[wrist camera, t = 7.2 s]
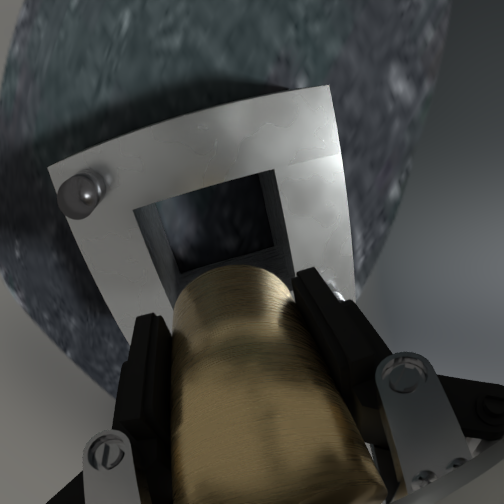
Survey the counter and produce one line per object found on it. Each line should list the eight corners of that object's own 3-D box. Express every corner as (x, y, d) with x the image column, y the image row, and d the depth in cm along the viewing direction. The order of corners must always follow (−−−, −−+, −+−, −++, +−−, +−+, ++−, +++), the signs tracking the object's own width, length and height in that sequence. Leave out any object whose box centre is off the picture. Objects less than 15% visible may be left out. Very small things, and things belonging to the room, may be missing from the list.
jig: (83, 149, 16) (30, 176, 10) (293, 88, 16) (345, 83, 10) (153, 321, 21) (146, 396, 15) (325, 272, 22) (368, 334, 16)
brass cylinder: (154, 285, 10) (133, 519, 3) (282, 248, 10) (403, 456, 3) (196, 373, 11) (216, 557, 5) (301, 344, 12) (377, 517, 5)
